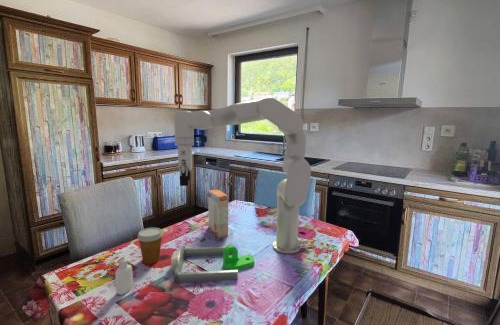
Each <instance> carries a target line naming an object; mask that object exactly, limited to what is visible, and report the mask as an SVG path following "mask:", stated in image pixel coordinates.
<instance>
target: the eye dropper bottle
mask: <svg viewBox="0 0 500 325" xmlns="http://www.w3.org/2000/svg"><path fill="white" fill-rule="evenodd" d="M118 264H119V265H118V268H117V270H116V271H115V276H114V277H115V292H116V294H117V295H120V296H123V295H124V294H127V293H128V292H129V291H130V290H132V288H133V286H134V278H133V267H132V265H131V264H128V259H127V258H125V255H122V256H121V259H119V261H118Z"/></svg>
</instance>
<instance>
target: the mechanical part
mask: <svg viewBox="0 0 500 325" xmlns="http://www.w3.org/2000/svg"><path fill="white" fill-rule="evenodd" d="M225 247H226V248H225V249H224V251H223V255H222V266H223V267H224V268H225V270H238V271H240V270H244V269H248V268H251V267H253V266H254V265H255V257H253V255H251V254H250V253H249V254H246V255H241V256H239V251H238V248H236V246H234V245H233V244H228V245H227V246H225ZM231 251H233V253H232V254H229V252H231Z"/></svg>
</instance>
